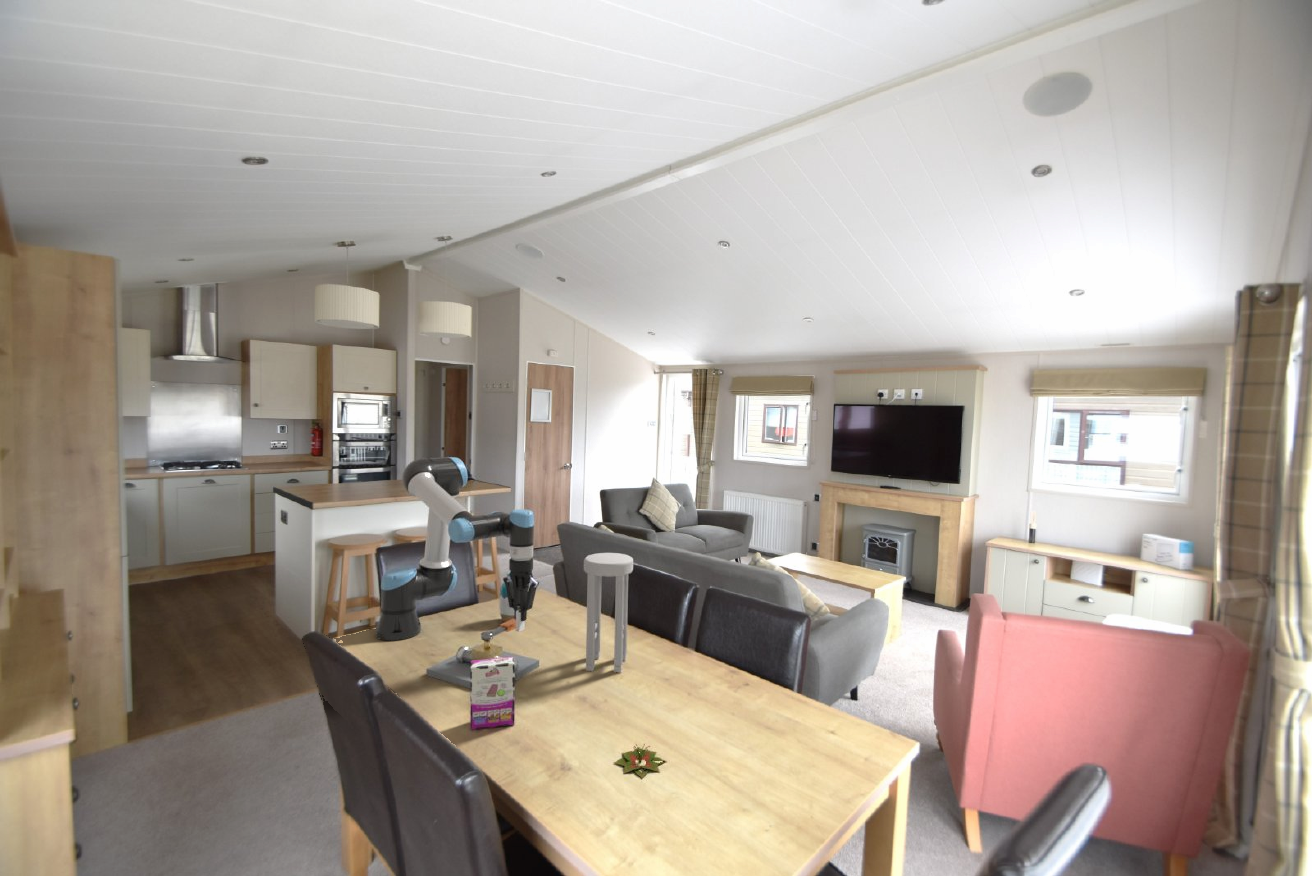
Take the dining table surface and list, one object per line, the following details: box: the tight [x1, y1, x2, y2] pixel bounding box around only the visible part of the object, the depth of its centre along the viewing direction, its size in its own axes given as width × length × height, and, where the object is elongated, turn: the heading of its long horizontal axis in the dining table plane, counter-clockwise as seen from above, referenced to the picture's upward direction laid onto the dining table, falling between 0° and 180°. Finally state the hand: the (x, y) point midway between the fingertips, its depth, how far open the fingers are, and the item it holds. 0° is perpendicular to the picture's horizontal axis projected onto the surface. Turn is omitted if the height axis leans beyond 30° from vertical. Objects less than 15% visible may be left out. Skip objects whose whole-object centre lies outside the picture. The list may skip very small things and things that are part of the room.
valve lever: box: [480, 619, 516, 642], centre depth 188 cm, size 4×16×2 cm, turn 154°
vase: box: [499, 571, 514, 623], centre depth 228 cm, size 11×11×19 cm
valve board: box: [425, 644, 540, 689], centre depth 184 cm, size 26×22×2 cm
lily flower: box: [613, 743, 668, 779], centre depth 137 cm, size 12×12×5 cm
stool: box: [583, 552, 634, 674], centre depth 191 cm, size 16×16×35 cm
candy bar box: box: [469, 657, 516, 731], centre depth 153 cm, size 11×5×16 cm, turn 105°
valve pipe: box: [455, 640, 519, 673], centre depth 183 cm, size 21×6×9 cm, turn 64°
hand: (520, 630), depth 190 cm, fingers closed
